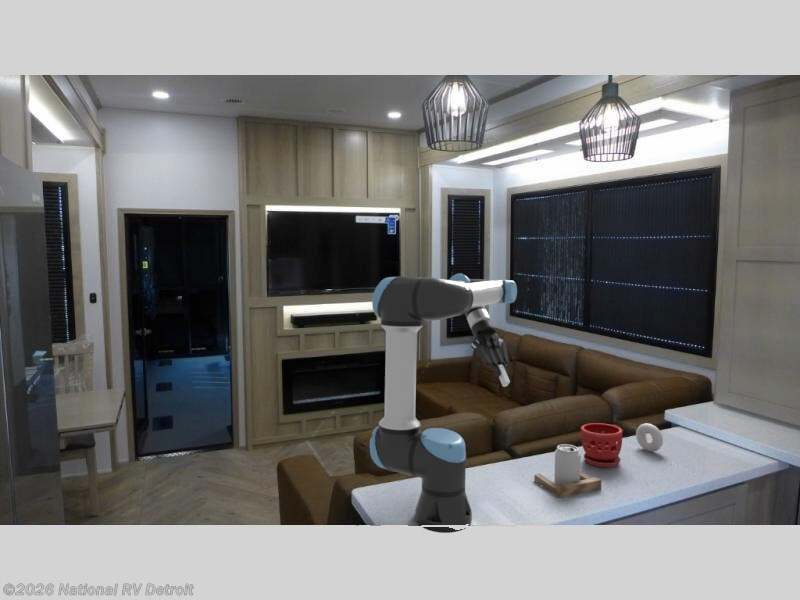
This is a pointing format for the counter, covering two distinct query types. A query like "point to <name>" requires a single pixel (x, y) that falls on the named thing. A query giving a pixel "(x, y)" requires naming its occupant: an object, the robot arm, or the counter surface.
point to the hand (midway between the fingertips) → (506, 384)
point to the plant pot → (601, 444)
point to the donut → (653, 432)
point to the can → (567, 464)
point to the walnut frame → (570, 485)
